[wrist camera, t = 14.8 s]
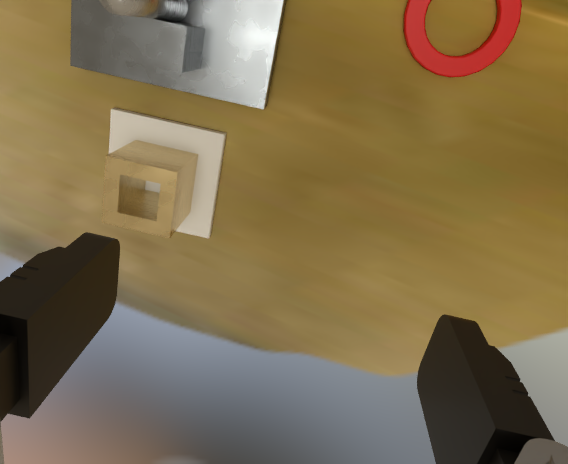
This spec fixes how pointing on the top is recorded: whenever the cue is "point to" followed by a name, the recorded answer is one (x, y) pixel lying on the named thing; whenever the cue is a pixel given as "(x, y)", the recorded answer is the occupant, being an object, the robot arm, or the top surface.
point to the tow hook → (467, 63)
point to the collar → (143, 203)
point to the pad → (179, 137)
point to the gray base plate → (182, 44)
